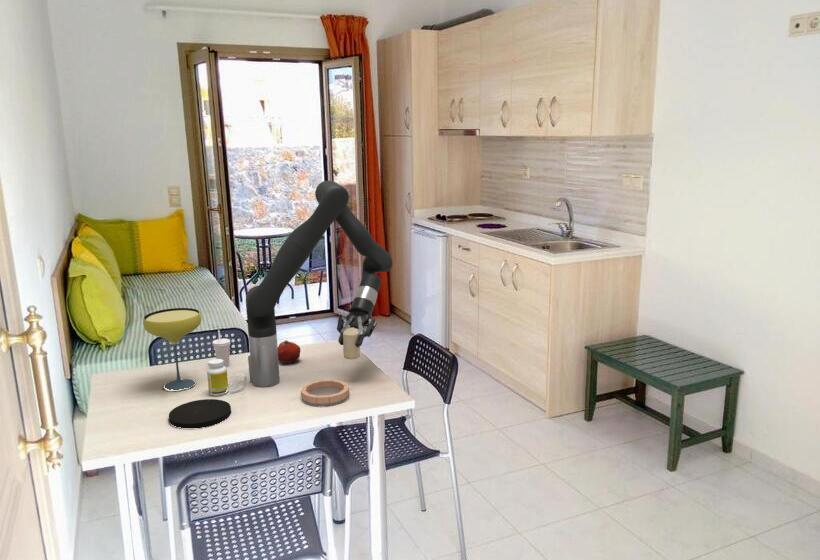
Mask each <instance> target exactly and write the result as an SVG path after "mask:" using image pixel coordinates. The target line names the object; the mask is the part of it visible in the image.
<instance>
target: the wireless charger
mask: <svg viewBox="0 0 820 560" xmlns="http://www.w3.org/2000/svg"><path fill="white" fill-rule="evenodd" d="M230 414H232V407H231V404H230V403H229V402H227V401H225V400H222V399H215V398H207V399H198V400H197V399H196V400H191V401H188V402H185V403H181V404H180V405H178V406H175V407H174V408H172V409H171V410H170V412H169V413H168V421H169V424H170V423H171V424H172V425H174V426H176V427H175V428H177V427H181V428H199V429H203V428H202V427H205V428H208V427H213V426H215V424H216V425H218V424H220V422H221V423H223V422H224V421H226V420H227V419H228V418H230V416H231V415H230ZM225 419H226V420H225ZM222 421H223V422H222ZM171 424H170V425H171ZM172 425H171V426H172ZM174 426H173V427H174ZM181 428H180V429H181Z"/></svg>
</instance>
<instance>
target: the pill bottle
mask: <svg viewBox="0 0 820 560" xmlns="http://www.w3.org/2000/svg"><path fill="white" fill-rule="evenodd" d="M223 365H224V361H223V359H217V358H213V359H210V360H209V361H208V368H207V370H206V376H207V385H208V393H209V395H211V396H212V395H213V397H219V396H220V395H221V396H224V395H226V394H225V392H226V390H227V387H228V388H229V380H228V369H227V367H225V366H223Z"/></svg>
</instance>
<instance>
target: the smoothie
mask: <svg viewBox="0 0 820 560" xmlns="http://www.w3.org/2000/svg"><path fill="white" fill-rule="evenodd" d="M217 333H218V338H217V339H214V340H212V346H213V350H214V352H215V353H214V354H215V359H223V361H224V365H223V366H225V367H226V368H228V367H229V366H230V348H231V343H232V342H231V339H230V338H221V331H220V329H217Z"/></svg>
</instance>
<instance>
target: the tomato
mask: <svg viewBox="0 0 820 560" xmlns="http://www.w3.org/2000/svg"><path fill="white" fill-rule="evenodd" d="M277 346H278V361H279V362H280V363H286V364H289V363H295V362H297V361H298V360H299V358H300V357H301V356H300V355H301V347H300V345H298V344H297V343H295V342H292V341H289V340H284V341H282V342H280V343H279V344H278V345H277Z"/></svg>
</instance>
